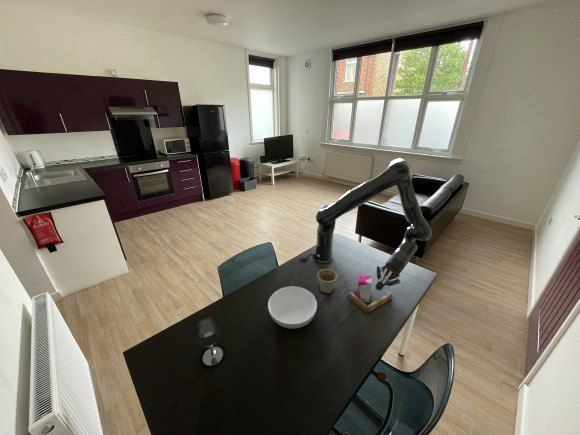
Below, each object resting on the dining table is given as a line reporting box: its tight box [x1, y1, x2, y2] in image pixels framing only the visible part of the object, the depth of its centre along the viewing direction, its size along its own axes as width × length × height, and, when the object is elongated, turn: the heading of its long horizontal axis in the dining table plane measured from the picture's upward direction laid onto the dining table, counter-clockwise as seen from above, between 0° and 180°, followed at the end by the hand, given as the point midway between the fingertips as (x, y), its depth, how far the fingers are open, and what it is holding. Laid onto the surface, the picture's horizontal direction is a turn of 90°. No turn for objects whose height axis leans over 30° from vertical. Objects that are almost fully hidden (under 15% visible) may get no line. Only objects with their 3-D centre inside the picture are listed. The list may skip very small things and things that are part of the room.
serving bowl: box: [267, 285, 318, 330], centre depth 103 cm, size 21×21×7 cm
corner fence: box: [348, 292, 393, 314], centre depth 112 cm, size 16×11×3 cm, turn 121°
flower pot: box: [317, 268, 338, 294], centre depth 117 cm, size 9×9×9 cm
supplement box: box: [355, 273, 373, 304], centre depth 111 cm, size 6×6×12 cm
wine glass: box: [193, 317, 224, 367], centre depth 84 cm, size 8×8×15 cm
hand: (377, 289), depth 112 cm, fingers closed
